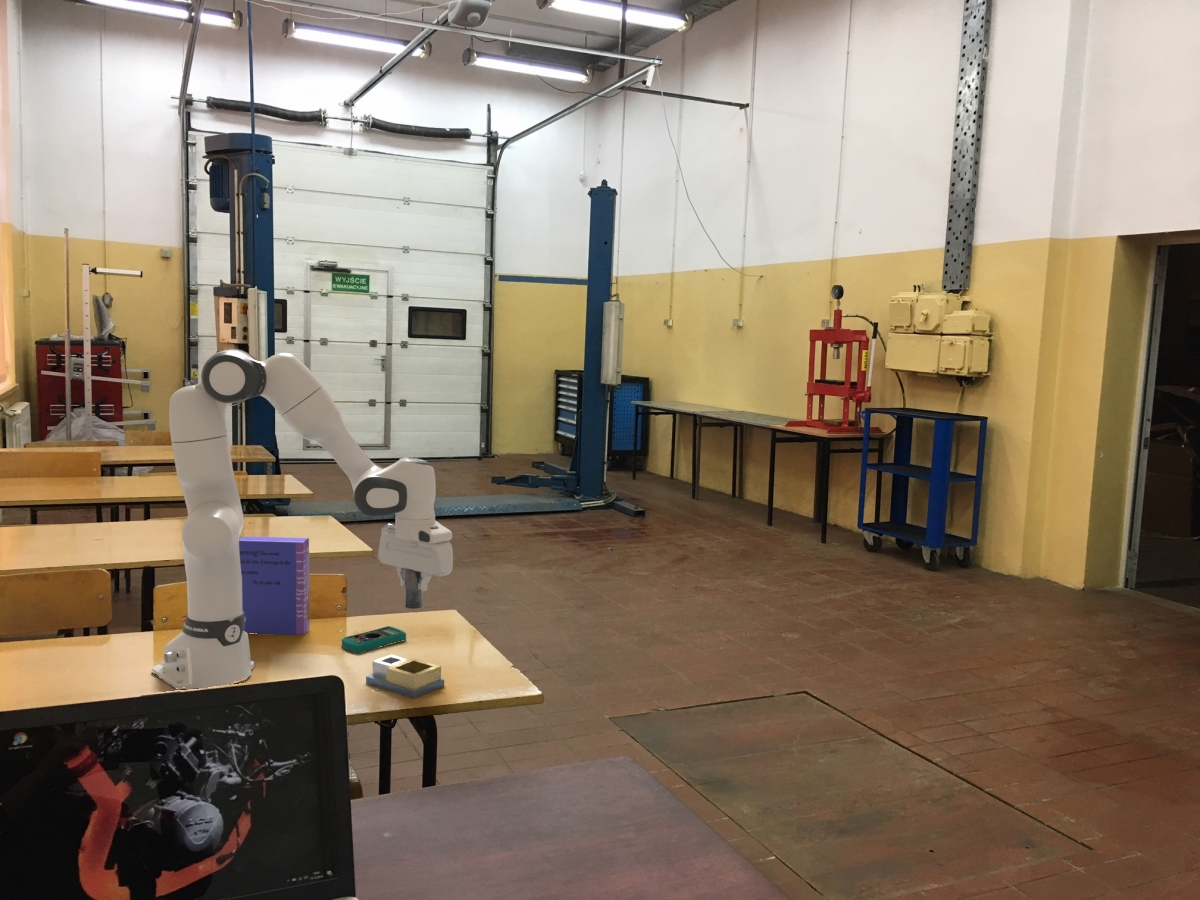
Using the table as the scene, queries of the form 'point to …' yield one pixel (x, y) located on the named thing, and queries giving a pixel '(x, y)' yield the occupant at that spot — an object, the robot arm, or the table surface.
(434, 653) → the table surface
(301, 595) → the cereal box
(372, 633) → the digital multimeter
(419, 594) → the cylinder
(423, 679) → the desk organizer
